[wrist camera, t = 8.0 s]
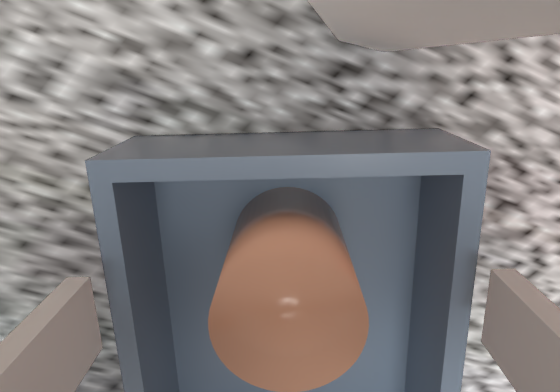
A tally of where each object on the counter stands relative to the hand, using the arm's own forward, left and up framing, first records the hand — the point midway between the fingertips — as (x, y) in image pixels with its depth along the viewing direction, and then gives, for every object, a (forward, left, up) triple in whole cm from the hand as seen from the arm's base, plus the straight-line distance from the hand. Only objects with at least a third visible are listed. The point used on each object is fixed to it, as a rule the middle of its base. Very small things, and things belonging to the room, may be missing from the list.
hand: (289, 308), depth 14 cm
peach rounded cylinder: (0, 0, -6) cm, 6 cm away
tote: (0, -4, -7) cm, 8 cm away
